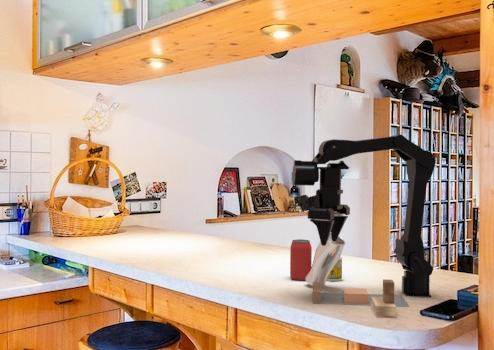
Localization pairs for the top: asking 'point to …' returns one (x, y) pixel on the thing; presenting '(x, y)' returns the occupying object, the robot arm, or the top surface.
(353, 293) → the tile
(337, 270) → the supplement bottle
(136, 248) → the top surface
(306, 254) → the beer can
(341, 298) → the slate board
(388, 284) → the two-tone stepped block
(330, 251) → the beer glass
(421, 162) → the robot arm
